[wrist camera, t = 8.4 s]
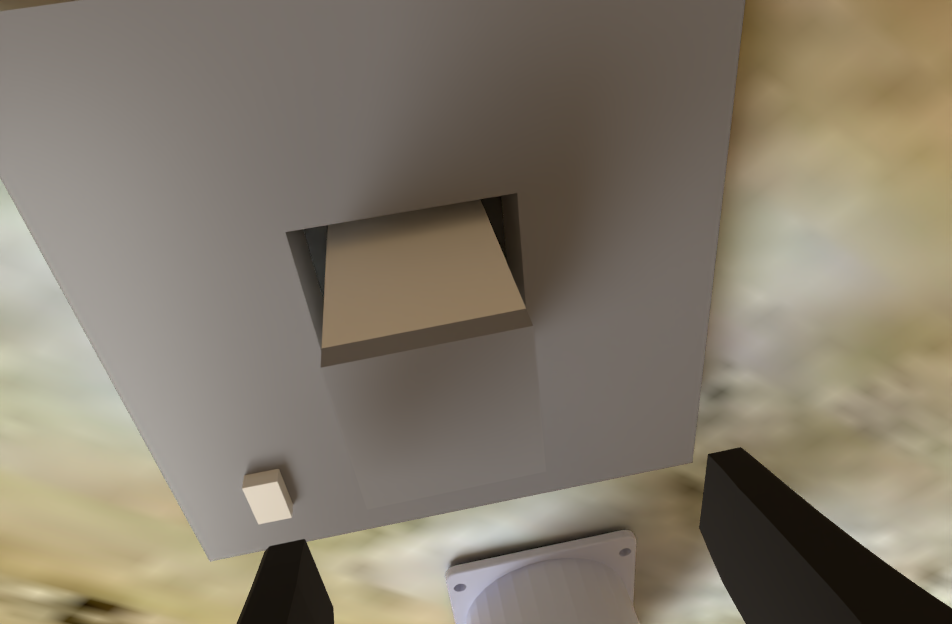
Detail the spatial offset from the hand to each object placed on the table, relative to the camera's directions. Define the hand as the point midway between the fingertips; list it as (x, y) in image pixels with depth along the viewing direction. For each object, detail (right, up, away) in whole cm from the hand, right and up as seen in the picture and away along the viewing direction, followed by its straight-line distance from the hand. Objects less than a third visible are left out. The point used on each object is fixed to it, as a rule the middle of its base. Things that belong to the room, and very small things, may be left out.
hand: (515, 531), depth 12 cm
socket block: (-3, +5, +7) cm, 9 cm away
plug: (-2, +5, +7) cm, 9 cm away
